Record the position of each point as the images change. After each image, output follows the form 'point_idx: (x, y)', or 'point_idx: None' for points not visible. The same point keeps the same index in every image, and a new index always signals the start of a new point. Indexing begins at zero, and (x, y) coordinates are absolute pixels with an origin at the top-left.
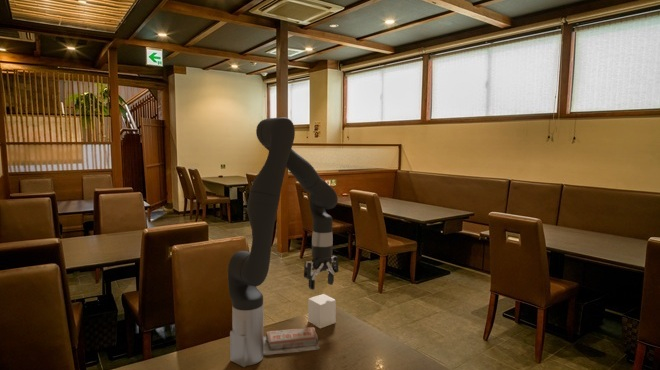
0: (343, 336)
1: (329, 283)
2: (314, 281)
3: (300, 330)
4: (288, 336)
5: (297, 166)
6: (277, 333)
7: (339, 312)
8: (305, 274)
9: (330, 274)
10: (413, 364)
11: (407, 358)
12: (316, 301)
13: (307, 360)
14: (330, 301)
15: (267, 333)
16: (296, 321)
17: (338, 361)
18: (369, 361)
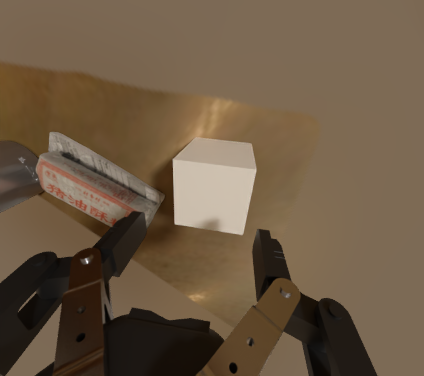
0: (208, 236)
1: (255, 241)
2: (122, 268)
3: (112, 208)
4: (80, 207)
5: None
6: (60, 183)
7: (304, 161)
8: (26, 279)
9: (263, 294)
10: (224, 321)
11: (230, 315)
12: (181, 199)
13: None
14: (219, 229)
15: (36, 170)
16: (168, 113)
17: (150, 265)
18: (186, 290)
